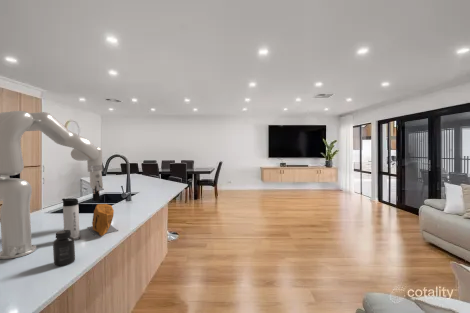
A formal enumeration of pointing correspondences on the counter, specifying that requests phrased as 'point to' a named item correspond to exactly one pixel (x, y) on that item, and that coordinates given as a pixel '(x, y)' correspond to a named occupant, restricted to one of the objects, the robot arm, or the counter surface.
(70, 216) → the travel mug
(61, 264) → the supplement bottle
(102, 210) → the coffee package
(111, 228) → the mat
